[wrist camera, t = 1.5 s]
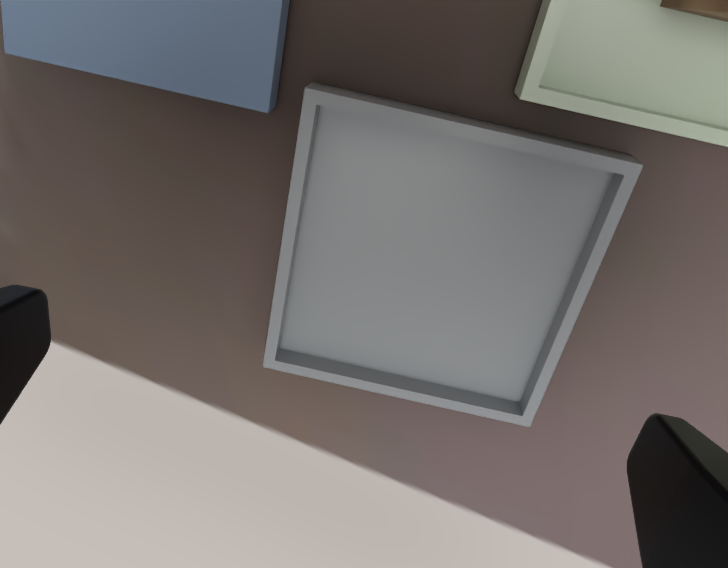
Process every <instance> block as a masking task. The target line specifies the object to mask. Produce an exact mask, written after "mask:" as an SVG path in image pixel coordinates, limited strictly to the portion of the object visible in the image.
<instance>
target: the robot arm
mask: <svg viewBox="0 0 728 568" xmlns="http://www.w3.org/2000/svg"><path fill="white" fill-rule="evenodd" d="M50 342H51V331H50V320H49V309H48V300H47V296H46V294H45V293H44V292H43V291H42V290H40V289H36V288H31V287H26V286H21V285H10V286H6V287H2V288H0V424H1V423H2V421H3V420H4V418H5V417H6V415H7V413H8V412H9V411H10V409H11V407H12V406H13V404H14V403H15V401H16V400H17V398H18V397H19V395H20V394H21V392H22V390H23V389H24V387H25V386H26V384H27V383H28V381H29V380H30V378H31V377H32V375H33V373H34V372H35V370H36V369H37V367H38V366H39V364H40V363H41V361H42V360H43V358H44V357H45V355H46V353H47V351H48V349H49V346H50ZM627 475H628V481H629V488H630V494H631V500H632V507H633V513H634V519H635V526H636V532H637V538H638V545H639V551H640V557H641V562H642V567H643V568H728V453H727V452H726V451H725V450H723V449H722V448H721V447H719V446H718V445H717V444H715V443H714V442H713V441H711V440H710V439H709V438H707V437H706V436H705V435H704V434H702V433H701V432H700V431H698V430H697V429H696V428H694V427H693V426H692V425H690V424H689V423H688V422H686V421H685V420H684V419H681V418H678V417H673V416H668V415H663V414H658V413H655V414H653V415H650V416H649V417H648V418H647V420H646V421H645V423H644V425H643V427H642V429H641V431H640V433H639V435H638V437H637V439H636V441H635V443H634V445H633V447H632V449H631V451H630V453H629V456H628V460H627Z"/></svg>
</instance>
